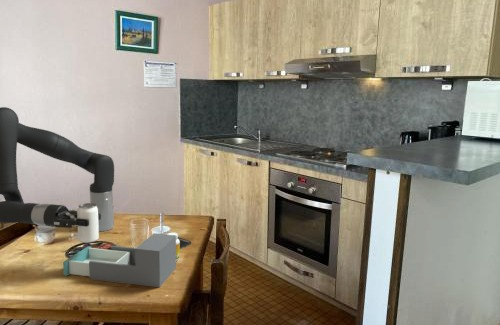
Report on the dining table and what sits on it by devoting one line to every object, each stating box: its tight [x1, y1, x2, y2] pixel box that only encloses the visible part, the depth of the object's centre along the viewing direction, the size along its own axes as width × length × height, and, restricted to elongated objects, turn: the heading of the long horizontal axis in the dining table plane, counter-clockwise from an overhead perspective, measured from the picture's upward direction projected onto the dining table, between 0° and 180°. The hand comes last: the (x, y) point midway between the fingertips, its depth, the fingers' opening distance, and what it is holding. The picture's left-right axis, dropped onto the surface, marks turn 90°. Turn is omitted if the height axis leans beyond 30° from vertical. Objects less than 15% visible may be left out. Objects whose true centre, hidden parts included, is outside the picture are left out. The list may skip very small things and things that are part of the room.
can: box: [76, 202, 100, 244], centre depth 131 cm, size 6×6×12 cm
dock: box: [89, 233, 177, 288], centre depth 130 cm, size 14×24×12 cm, turn 80°
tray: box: [62, 245, 131, 277], centre depth 133 cm, size 14×17×4 cm
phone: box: [177, 236, 192, 250], centre depth 160 cm, size 8×1×15 cm
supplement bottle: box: [166, 232, 181, 262], centre depth 143 cm, size 5×5×10 cm
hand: (94, 219), depth 130 cm, fingers closed on can, 6 cm apart
